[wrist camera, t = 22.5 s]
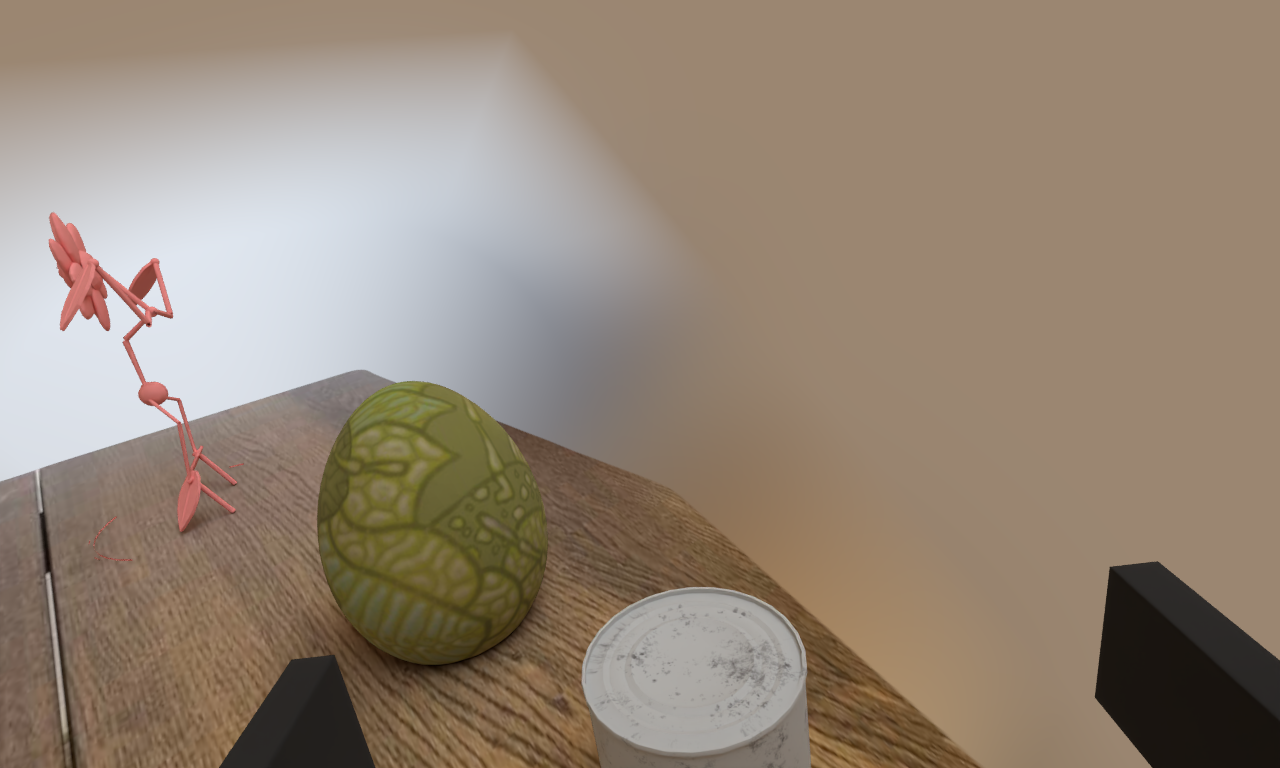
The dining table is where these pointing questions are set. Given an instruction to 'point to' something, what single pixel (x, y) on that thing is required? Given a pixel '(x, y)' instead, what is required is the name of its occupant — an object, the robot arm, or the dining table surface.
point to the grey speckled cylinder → (698, 684)
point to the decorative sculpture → (430, 525)
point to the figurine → (126, 340)
